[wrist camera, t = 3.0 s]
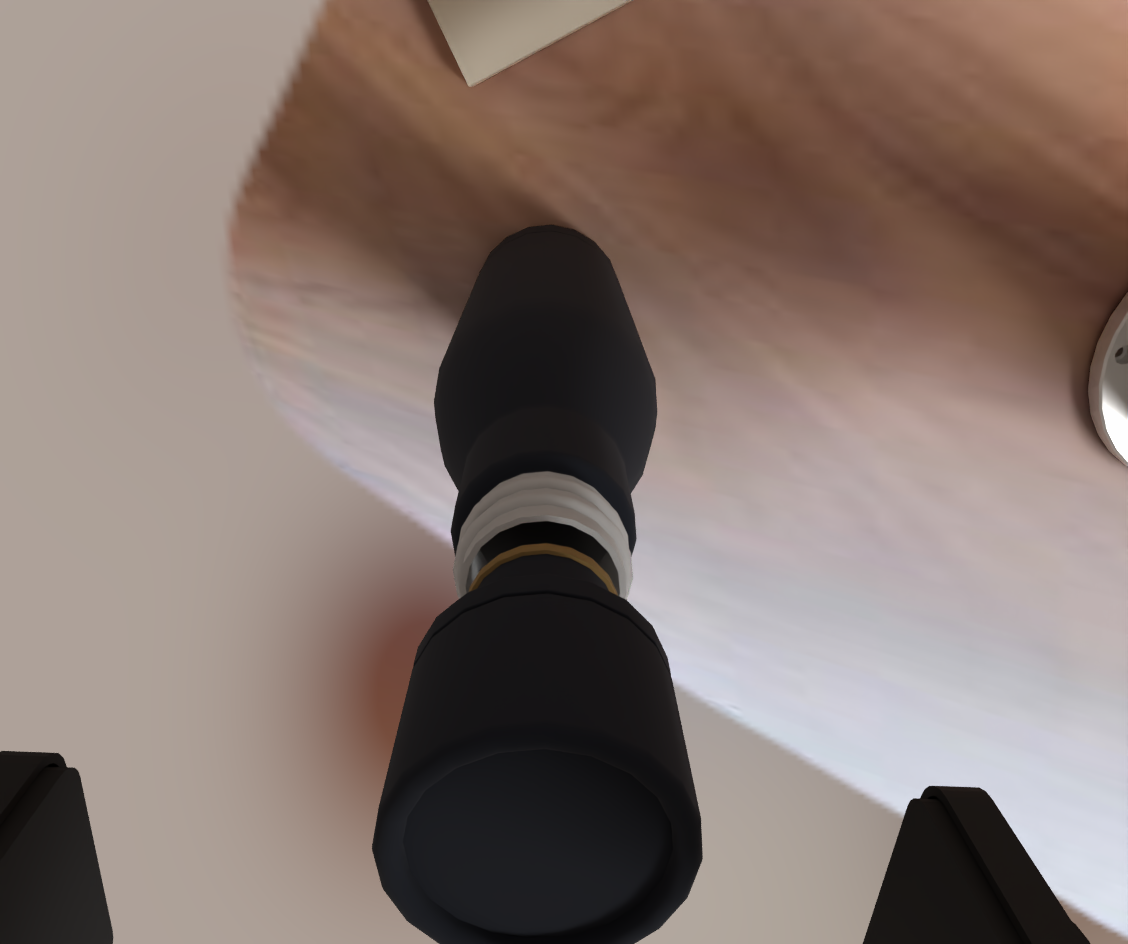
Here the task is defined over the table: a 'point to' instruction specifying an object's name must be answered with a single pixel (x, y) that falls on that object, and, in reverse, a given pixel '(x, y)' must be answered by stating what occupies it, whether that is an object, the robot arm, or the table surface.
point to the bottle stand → (510, 29)
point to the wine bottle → (541, 634)
